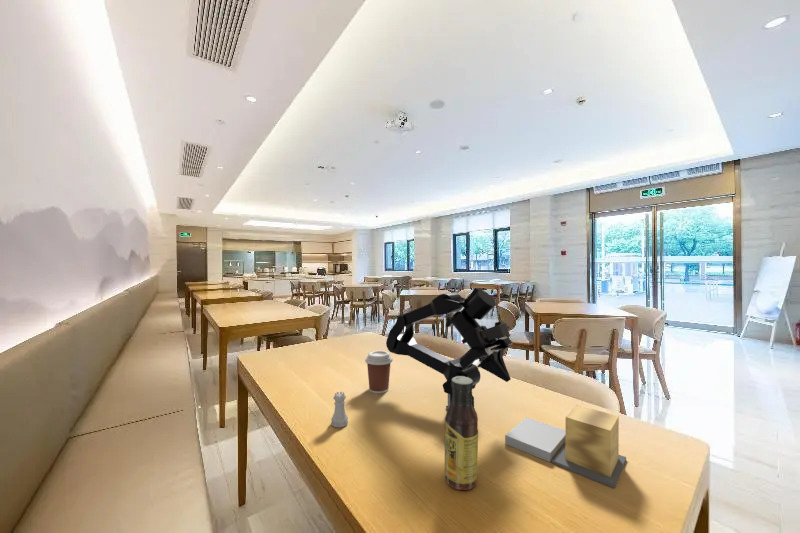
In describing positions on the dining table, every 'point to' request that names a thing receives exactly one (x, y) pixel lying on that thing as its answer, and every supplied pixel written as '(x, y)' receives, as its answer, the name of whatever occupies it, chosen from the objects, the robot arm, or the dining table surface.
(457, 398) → the sauce bottle
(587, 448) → the ochre block
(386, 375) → the coffee cup
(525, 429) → the block
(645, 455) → the dining table surface
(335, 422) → the rook chess piece
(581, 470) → the rubber pad
